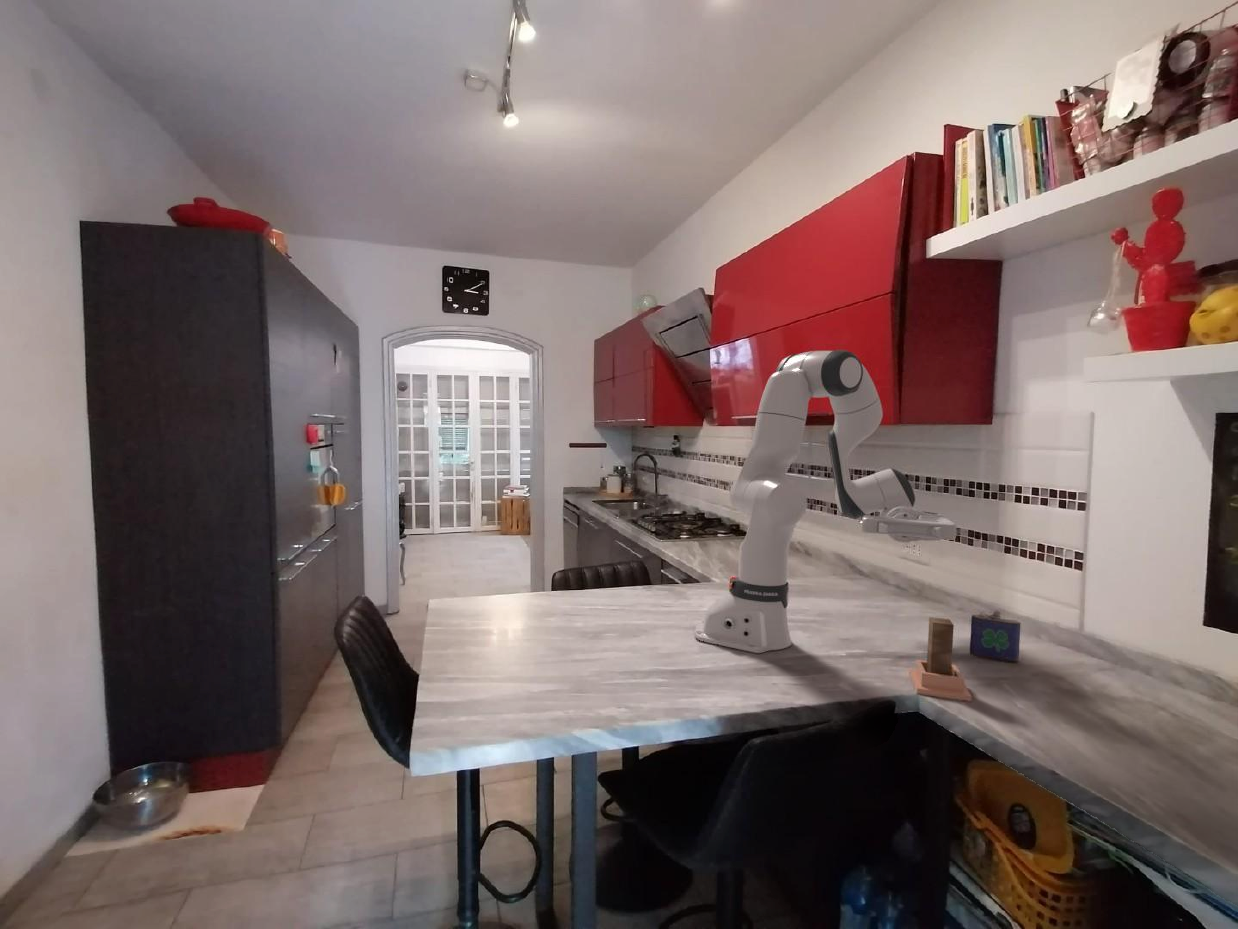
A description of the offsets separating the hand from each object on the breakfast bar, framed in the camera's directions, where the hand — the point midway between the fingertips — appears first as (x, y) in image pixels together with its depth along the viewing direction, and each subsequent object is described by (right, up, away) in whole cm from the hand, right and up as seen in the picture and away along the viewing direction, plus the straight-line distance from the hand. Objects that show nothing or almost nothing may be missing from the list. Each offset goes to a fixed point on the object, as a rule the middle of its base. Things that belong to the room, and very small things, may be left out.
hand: (911, 531), depth 128 cm
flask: (+17, -28, -3) cm, 33 cm away
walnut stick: (-5, -27, -19) cm, 33 cm away
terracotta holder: (-4, -28, -18) cm, 34 cm away
